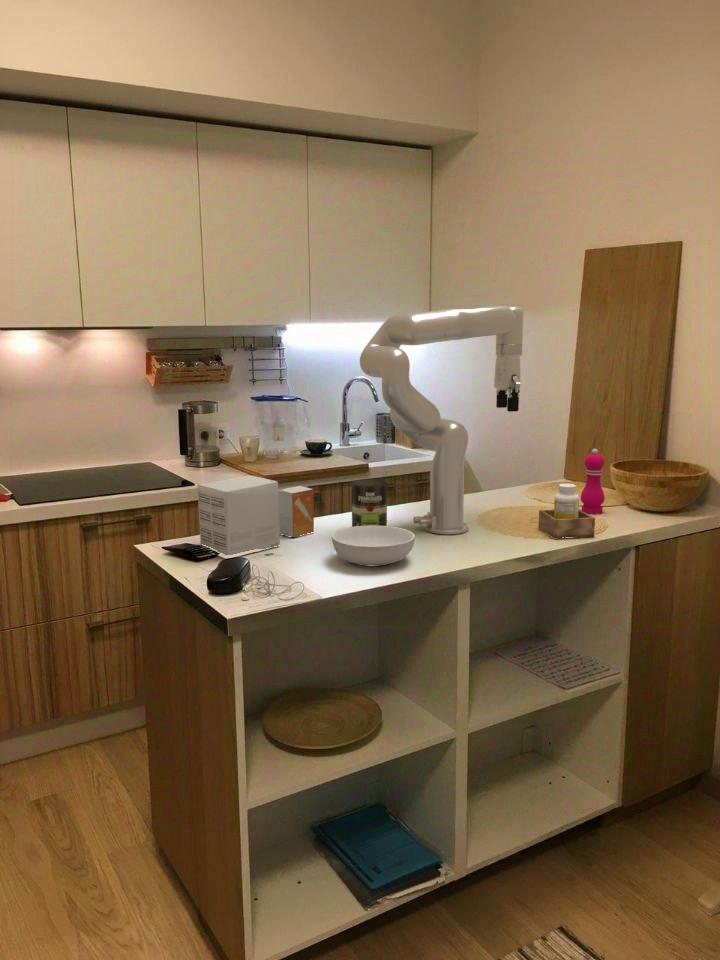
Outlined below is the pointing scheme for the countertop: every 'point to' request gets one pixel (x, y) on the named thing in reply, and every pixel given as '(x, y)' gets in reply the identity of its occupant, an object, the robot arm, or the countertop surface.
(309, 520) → the small box
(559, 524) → the crate
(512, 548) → the countertop surface
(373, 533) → the serving bowl
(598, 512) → the pepper mill
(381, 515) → the coffee can
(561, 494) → the supplement bottle
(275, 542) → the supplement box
